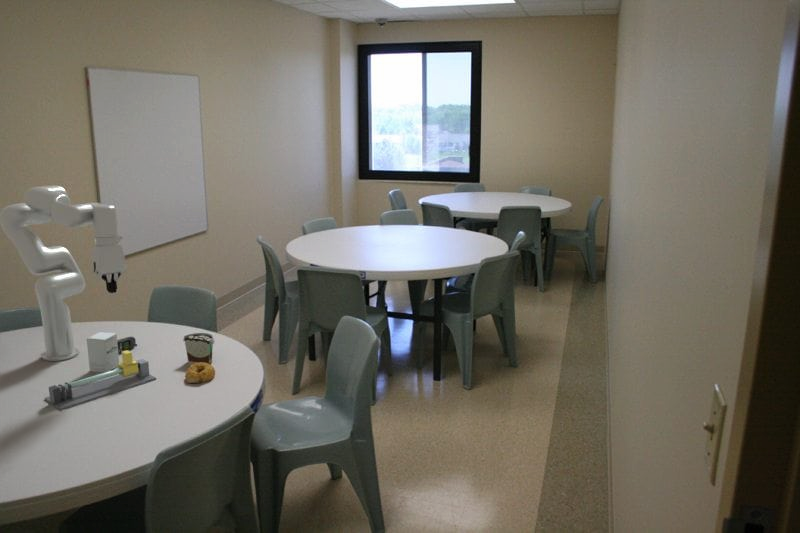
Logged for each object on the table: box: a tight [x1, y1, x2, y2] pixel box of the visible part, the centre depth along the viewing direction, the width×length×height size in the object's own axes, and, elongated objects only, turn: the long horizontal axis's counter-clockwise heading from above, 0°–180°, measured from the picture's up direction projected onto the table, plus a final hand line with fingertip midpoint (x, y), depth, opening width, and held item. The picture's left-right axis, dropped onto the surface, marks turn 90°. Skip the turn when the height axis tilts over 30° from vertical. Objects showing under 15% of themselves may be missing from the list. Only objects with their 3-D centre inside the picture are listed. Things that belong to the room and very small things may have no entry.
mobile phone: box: [117, 336, 138, 354], centre depth 248 cm, size 5×3×15 cm
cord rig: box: [44, 358, 157, 411], centre depth 214 cm, size 12×32×6 cm, turn 140°
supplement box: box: [86, 331, 120, 373], centre depth 230 cm, size 7×7×13 cm
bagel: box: [184, 362, 216, 384], centre depth 223 cm, size 10×11×5 cm
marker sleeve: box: [117, 350, 139, 377], centre depth 220 cm, size 4×5×8 cm
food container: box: [183, 332, 215, 365], centre depth 239 cm, size 12×6×10 cm, turn 71°
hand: (112, 292), depth 224 cm, fingers closed
